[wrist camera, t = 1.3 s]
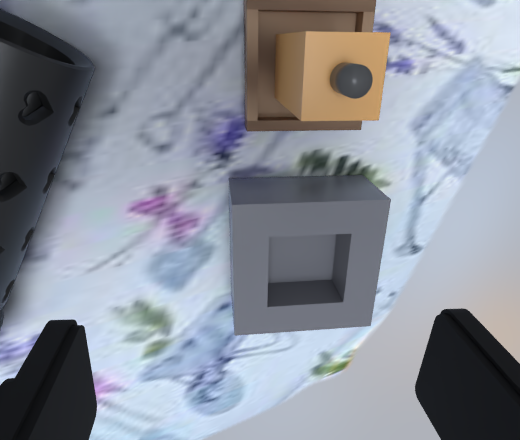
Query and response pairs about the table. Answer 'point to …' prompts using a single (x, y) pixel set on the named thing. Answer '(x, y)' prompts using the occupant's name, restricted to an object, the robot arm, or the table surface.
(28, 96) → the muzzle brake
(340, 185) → the socket block
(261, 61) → the tray
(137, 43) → the table surface
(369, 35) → the plug
